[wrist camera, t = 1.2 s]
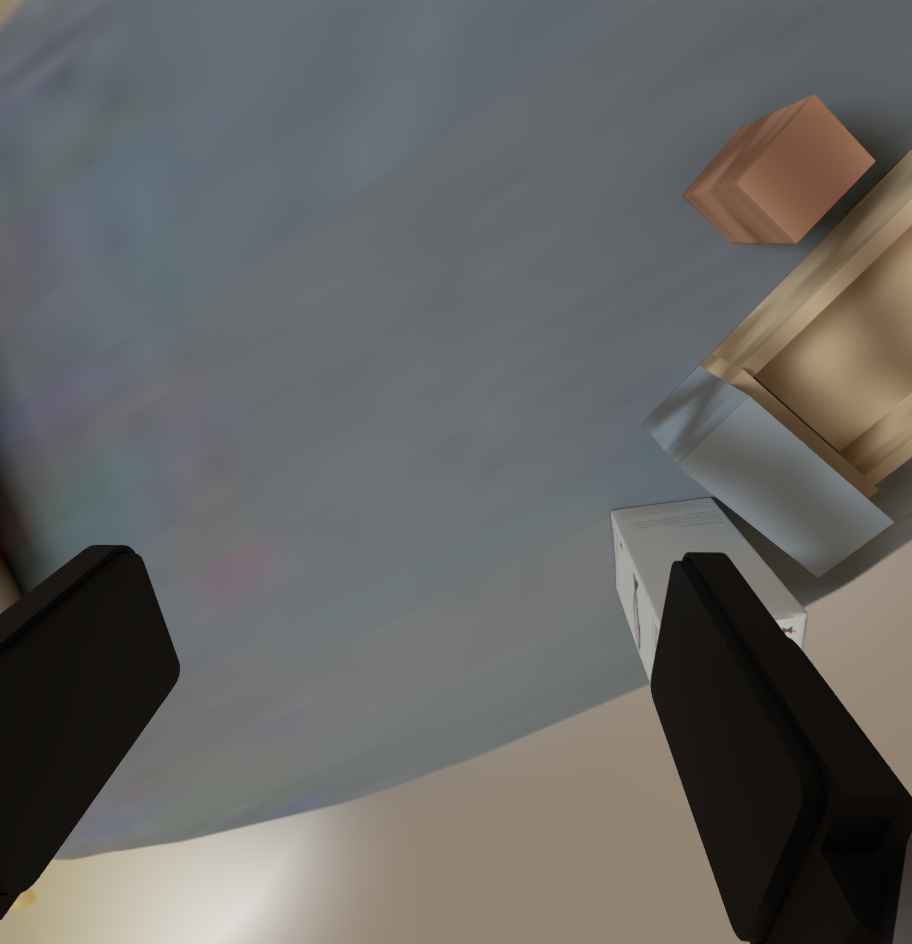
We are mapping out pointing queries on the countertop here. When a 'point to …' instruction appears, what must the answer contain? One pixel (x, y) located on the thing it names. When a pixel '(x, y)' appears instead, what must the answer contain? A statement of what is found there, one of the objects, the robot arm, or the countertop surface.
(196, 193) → the countertop surface
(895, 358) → the truck bed
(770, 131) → the block
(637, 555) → the supplement box
